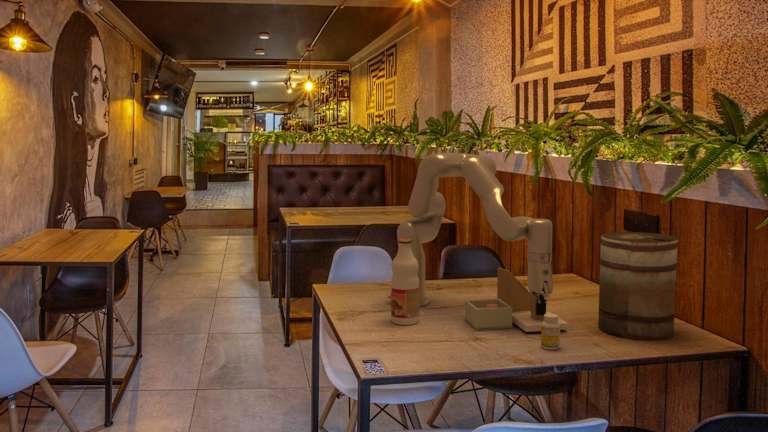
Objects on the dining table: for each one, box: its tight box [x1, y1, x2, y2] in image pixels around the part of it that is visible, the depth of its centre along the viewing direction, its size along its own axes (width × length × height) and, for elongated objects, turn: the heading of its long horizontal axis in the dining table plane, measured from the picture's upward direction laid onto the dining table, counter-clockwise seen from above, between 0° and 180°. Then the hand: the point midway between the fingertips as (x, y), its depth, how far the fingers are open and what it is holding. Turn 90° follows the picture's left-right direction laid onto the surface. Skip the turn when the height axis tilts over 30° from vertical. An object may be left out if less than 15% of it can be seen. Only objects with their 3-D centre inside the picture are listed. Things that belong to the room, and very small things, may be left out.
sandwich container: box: [496, 267, 531, 313], centre depth 232 cm, size 9×15×15 cm, turn 110°
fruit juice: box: [390, 239, 420, 326], centre depth 214 cm, size 9×9×28 cm
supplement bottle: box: [540, 313, 561, 351], centre depth 187 cm, size 5×5×10 cm
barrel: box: [597, 231, 679, 342], centre depth 203 cm, size 22×22×30 cm
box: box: [464, 298, 513, 332], centre depth 211 cm, size 12×12×7 cm
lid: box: [512, 293, 569, 333], centre depth 208 cm, size 14×14×10 cm
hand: (538, 312), depth 208 cm, fingers closed on lid, 3 cm apart
